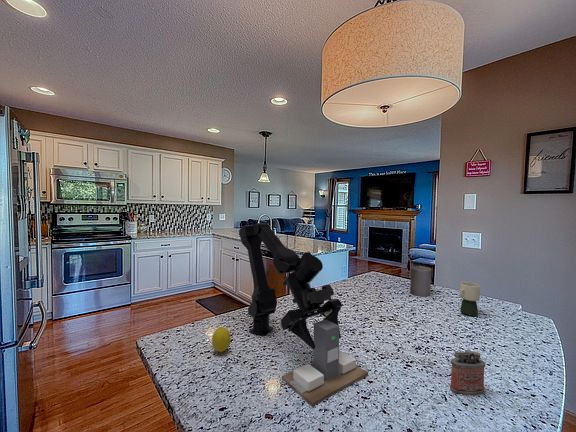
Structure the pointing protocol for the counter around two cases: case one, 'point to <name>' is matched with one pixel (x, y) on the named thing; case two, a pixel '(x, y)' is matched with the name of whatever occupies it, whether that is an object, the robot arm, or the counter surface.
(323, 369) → the block
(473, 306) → the character mug
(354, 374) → the board
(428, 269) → the pillar candle
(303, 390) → the rail
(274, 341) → the counter surface
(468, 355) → the lighter
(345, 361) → the terminal blocks
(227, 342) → the lemon
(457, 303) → the counter surface
